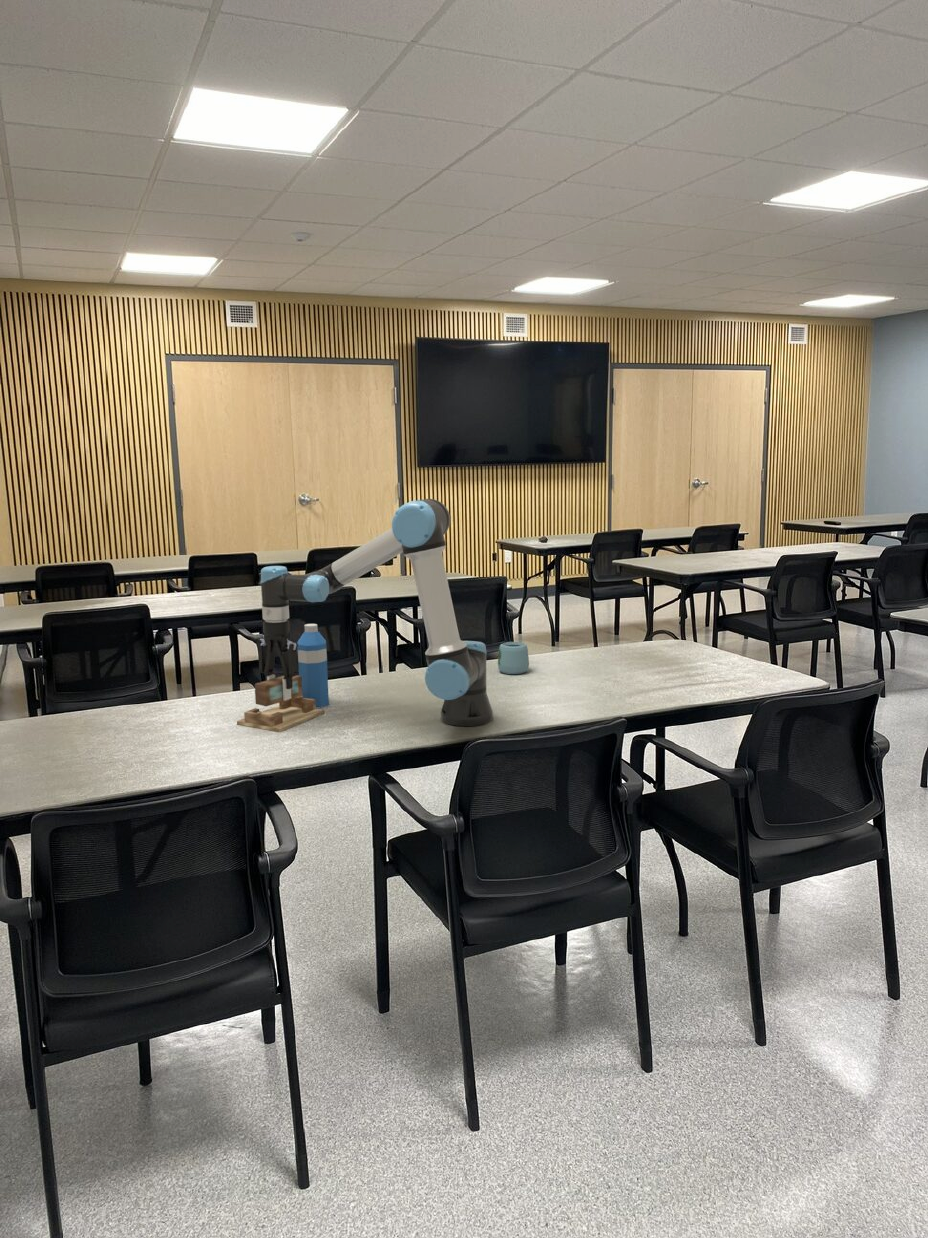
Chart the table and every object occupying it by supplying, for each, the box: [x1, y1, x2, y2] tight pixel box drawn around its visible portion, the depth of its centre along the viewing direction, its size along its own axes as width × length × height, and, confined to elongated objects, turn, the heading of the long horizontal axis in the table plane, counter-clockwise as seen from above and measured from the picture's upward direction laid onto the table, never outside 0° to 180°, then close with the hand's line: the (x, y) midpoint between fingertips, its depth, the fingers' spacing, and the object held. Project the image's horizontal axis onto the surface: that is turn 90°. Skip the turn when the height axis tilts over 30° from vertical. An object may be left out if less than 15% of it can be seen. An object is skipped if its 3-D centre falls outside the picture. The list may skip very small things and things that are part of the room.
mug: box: [497, 641, 530, 675], centre depth 317 cm, size 15×11×10 cm
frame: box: [254, 674, 302, 707], centre depth 262 cm, size 14×5×6 cm, turn 144°
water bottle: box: [297, 623, 330, 709], centre depth 277 cm, size 9×9×25 cm
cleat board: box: [236, 696, 325, 733], centre depth 263 cm, size 16×20×5 cm
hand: (279, 698), depth 263 cm, fingers closed on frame, 5 cm apart
